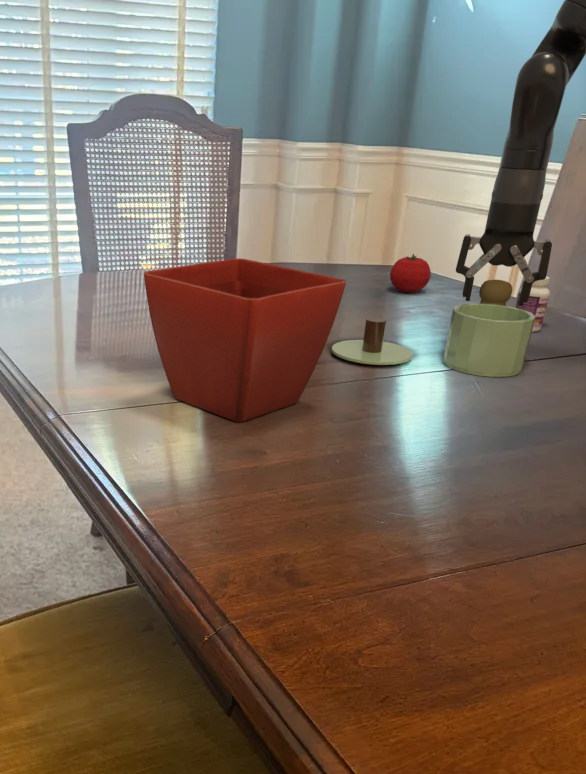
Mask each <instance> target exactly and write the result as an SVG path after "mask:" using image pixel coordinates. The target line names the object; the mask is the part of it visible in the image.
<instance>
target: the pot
mask: <svg viewBox="0 0 586 774" xmlns="http://www.w3.org/2000/svg"><path fill="white" fill-rule="evenodd" d="M534 321H535V316H534V315H533V314H532V313H531V312H528V311H526V310H523V309H519V308H515V307H513V306H510V305H509V306H508V305H506V306H503V305H496V304H480V303H464V304H459V305H456V306H455V307H453V308H452V313H451V317H450V324H449V328H448V332H447V333H448V334H447V339H446V342H445V343H446V344H445V349H444V354H443V364H444V365H445V366H446V367H448V368H450V369H452V370H454V371H457V372H460V373H463V374H468V375H473V376H480V377H489V378H508V377H513V376H517V375H519V374H520V373H522V370H523V367H524V364H525V362H526V357H527V353H528V349H529V344H530V341H531V337H532V333H533V332H532V329H533V325H534Z"/></svg>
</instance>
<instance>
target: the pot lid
mask: <svg viewBox="0 0 586 774" xmlns="http://www.w3.org/2000/svg"><path fill="white" fill-rule="evenodd" d="M364 325H365V326H364V332H363V339H348V340H342V341H338V342H336V343H334V344H333V345H332V346H331V352H332V354H333V355H335V356H336V357H337V358H340V359H342V360H345V361H349V362H353V363H358V364H362V365H370V366H390V365H391V366H392V365H400V364H404V363H407V362H409V361H410V360H412V358H413V352H412V351H411V350H410V349H408V348H407V347H405V346H403V345H401V344H400V345H399V344H396V343H393V342H388V341H384V340H385V339H384V338H385V333H386V326H387V319H385V318H382V317H377V316H376V317H375V316H374V317H373V316H372V317H367V318H366V319H365V324H364Z"/></svg>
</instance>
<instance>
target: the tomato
mask: <svg viewBox="0 0 586 774" xmlns="http://www.w3.org/2000/svg"><path fill="white" fill-rule="evenodd" d="M431 272H432V271H431V267H430V265H429V263H428V262H427V260H424V259H423V258H421V257H417V255H415V254H414V253H412V256H406V255H405V256H404V257H402V258H399V259H398V260H396V262H394V263H393V265H392V266H391V269H390V272H389V279H390V280H389V281H390V282H391V285H392V286H393V287H394V288H395V289H396V290H398V291H399V292H402V293H407V294H412V293H413V294H414V293H416V292H419V291H421V290H422V289H424V288H425V287H426V286H427V285H428V284H429V282H430V279H431V277H432V276H431V275H432V273H431Z"/></svg>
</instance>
